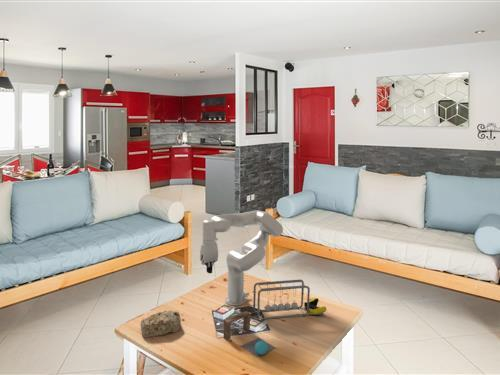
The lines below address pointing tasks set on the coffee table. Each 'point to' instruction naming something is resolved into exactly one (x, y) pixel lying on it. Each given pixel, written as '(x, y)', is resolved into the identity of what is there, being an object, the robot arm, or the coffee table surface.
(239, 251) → the robot arm
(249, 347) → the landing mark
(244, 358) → the coffee table surface
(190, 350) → the coffee table surface
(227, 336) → the bridge
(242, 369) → the coffee table surface
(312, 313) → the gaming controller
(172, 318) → the rock
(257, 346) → the ball
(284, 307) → the newton's cradle
